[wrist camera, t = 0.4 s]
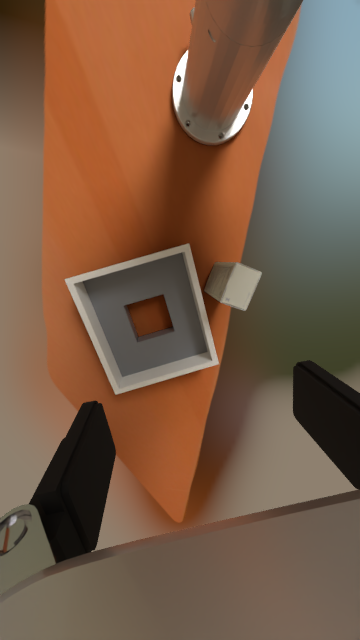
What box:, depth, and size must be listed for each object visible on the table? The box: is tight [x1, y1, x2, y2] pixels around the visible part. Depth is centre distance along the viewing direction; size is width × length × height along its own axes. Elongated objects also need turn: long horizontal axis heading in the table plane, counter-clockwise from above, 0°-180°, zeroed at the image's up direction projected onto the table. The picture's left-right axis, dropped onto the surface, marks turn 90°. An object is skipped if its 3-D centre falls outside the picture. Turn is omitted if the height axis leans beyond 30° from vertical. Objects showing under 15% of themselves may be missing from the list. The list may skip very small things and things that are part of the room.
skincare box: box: [204, 262, 262, 311], centre depth 37 cm, size 6×4×12 cm
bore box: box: [65, 243, 219, 395], centre depth 40 cm, size 22×20×7 cm
